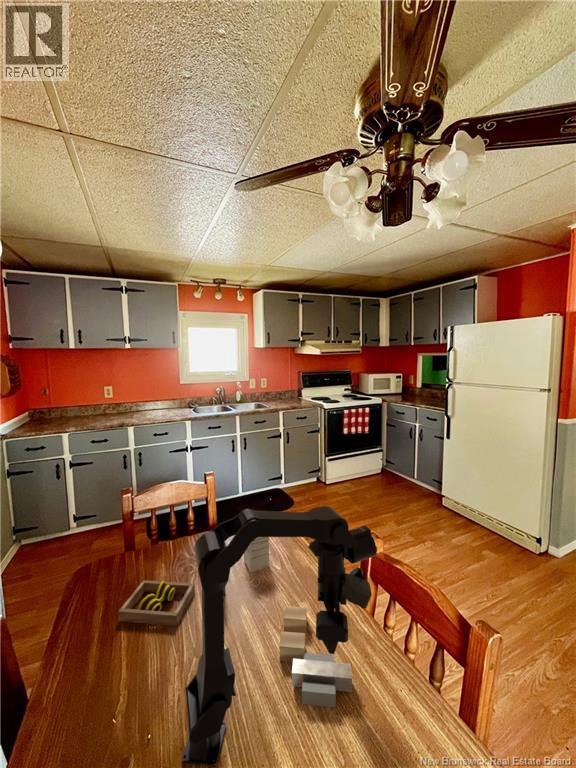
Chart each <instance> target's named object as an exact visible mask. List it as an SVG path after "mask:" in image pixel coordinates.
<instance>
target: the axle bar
mask: <svg viewBox="0 0 576 768" xmlns="http://www.w3.org/2000/svg"><path fill="white" fill-rule="evenodd" d="M291 668H292V669H291V686H292V687H298V688H302V682H309V683H319V684H329V685H335V692H337V691H338V692H346V693H347V692H348V693H353V674H352V664H351V663H347V662H337V661H334V662H326V661H315V660H304V659H293V662H292V667H291Z"/></svg>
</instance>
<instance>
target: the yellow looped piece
mask: <svg viewBox="0 0 576 768" xmlns="http://www.w3.org/2000/svg"><path fill="white" fill-rule="evenodd" d="M161 581H162V582H161V584H160V585H159V588H158V590H157V593H156V592H155V593H156V594H154V593H150V594H147V595H146V596H145V597H144V598H143V599H142V600H141V602H140V603H139V606H138V610H149V611H161V610H162V602H163V601H168V602H171V601H172V599H174V596H175V594H174V593H175V588H172V587H171V586H170V585H167V584H165V582H166V581H165V580H161Z"/></svg>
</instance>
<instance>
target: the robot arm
mask: <svg viewBox="0 0 576 768" xmlns="http://www.w3.org/2000/svg"><path fill="white" fill-rule="evenodd" d="M349 528H350V526H349V523H348V521H347V519H345V518H344V517H343V516H342V515H341V514H340V513H339V512H337V511H336V510H335V509H333V508H332V507H330V506H328V505H324V506H323V505H322V506H318V507H313V508H311V509H310V510H307V511H302V512H301V511H300V512H299V511H279V510H278V511H275V510H254V509H252V508H251V509H250V508H245V509H243V510H241V511H240V512H238V514H236V515H235V516H234V517H232V518H230V519H227V520H224V521H222V522H219V523H218V524H217V525H216V526H215V527H214V528H212V529H211V530H210V531H208V532H205V533H204V534H202V535H201V536H200V537H199V538H198V539H196V540H195V543H194V548H193V550H194V551H193V552H194V555H195V560H196V567H197V571H198V577H199V580H200V585H201V626H202V628H201V629H202V630H201V631H202V632H201V634H202V636H201V637H202V639H201V640H202V642H201V643H202V652H201V655H200V657H199V660H198V663H197V669H196V674H195V675H194V677H193V678H192V679H191V680H190V682H189V683H188V684H187V686H186V687H185V700H186V712H187V727H188V739H187V741H186V744H185V747H184V750H183V753H182V755H181V760H182V763H187V764H194V765H201V764H207V765H206V766H208V765H214V764H216V765H217V763H218V760H217V759H219V755H220V751H221V747H222V743H223V740H224V736H225V731H226V728H227V722H226V721H225V716H226V713H227V710H228V709H230V708H231V705H232V702H233V697H236V695H237V693H236V688H235V681H236V672H235V669H234V665H233V659H232V657H231V656H232V655H231V652H230V648H229V647H227V648H225V596H224V589H226V586H227V584H228V582H229V578H230V574H231V568H233V567H234V566H235V564H237V563H238V562H239V561H240V560H241V559H242V557H244V553H245V551H246V550H247V548H248V546H249V545H250V543H251V542H252V541H254V540H255V539H256V538H257V537H269V538H308V539H309V538H310V539H312V540H313V541H312V542H310V543H309V544H308V549H309V550H310V552H311V553H312V554H313V555H314V556H315V557H317V601H318V602H323V605H324V607H325V610H319V612H317V613H316V614H315V637H316V640H318V641H322V643H323V645H324V646H325V648H326V651H327V652H328V655H335V653H336V650H337V646H338V644H339V643H347V642H348V641H349V624H348V616H347V615H346V613H344V612H342V611H341V605H342V606H347V601H348V602H349V603H351V604H353V605H356V606H359V607H360V608H361V609H364V610H365V609H367V607H368V606H369V603H370V600H371V597H372V596H373V594H372V590H371V589H372V588H371V584H370V582H369V581H368V578H367V577H364V571H363V570H364V569H363V568H361V567H359V566H356V567H355V568H354V569H352V570H351V571H350V572H348V573H346V566H345V560H346V561H348V562H349V563H350V564H355V563H359V562H362V561H365V560H368V559H370V558H373V557H376V556H377V553H378V548H377V545H376V541H375V540H374V537H373V535H372V530H371V528H369V527H368V526H367V525H362V526H360V527H357V528H353V529H349ZM231 537H232V539H231V541H230V542H229V543H228V545H227V544H226V541H227V540H228V539H229V538H231ZM213 760H215V761H213ZM216 762H217V763H216Z"/></svg>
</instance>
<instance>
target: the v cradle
mask: <svg viewBox="0 0 576 768" xmlns="http://www.w3.org/2000/svg"><path fill="white" fill-rule="evenodd" d="M304 660H315V661H326V662H335V654H323V653H321V654H320V653H312V652H305V653H304ZM336 699H337V698H336V690H335V685H329V684H319V683H309V682H302V687H301V704H302V705H309V706H310V705H311V706H318V707H327V708H328V707H329V708H336V704H337V703H336Z"/></svg>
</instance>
